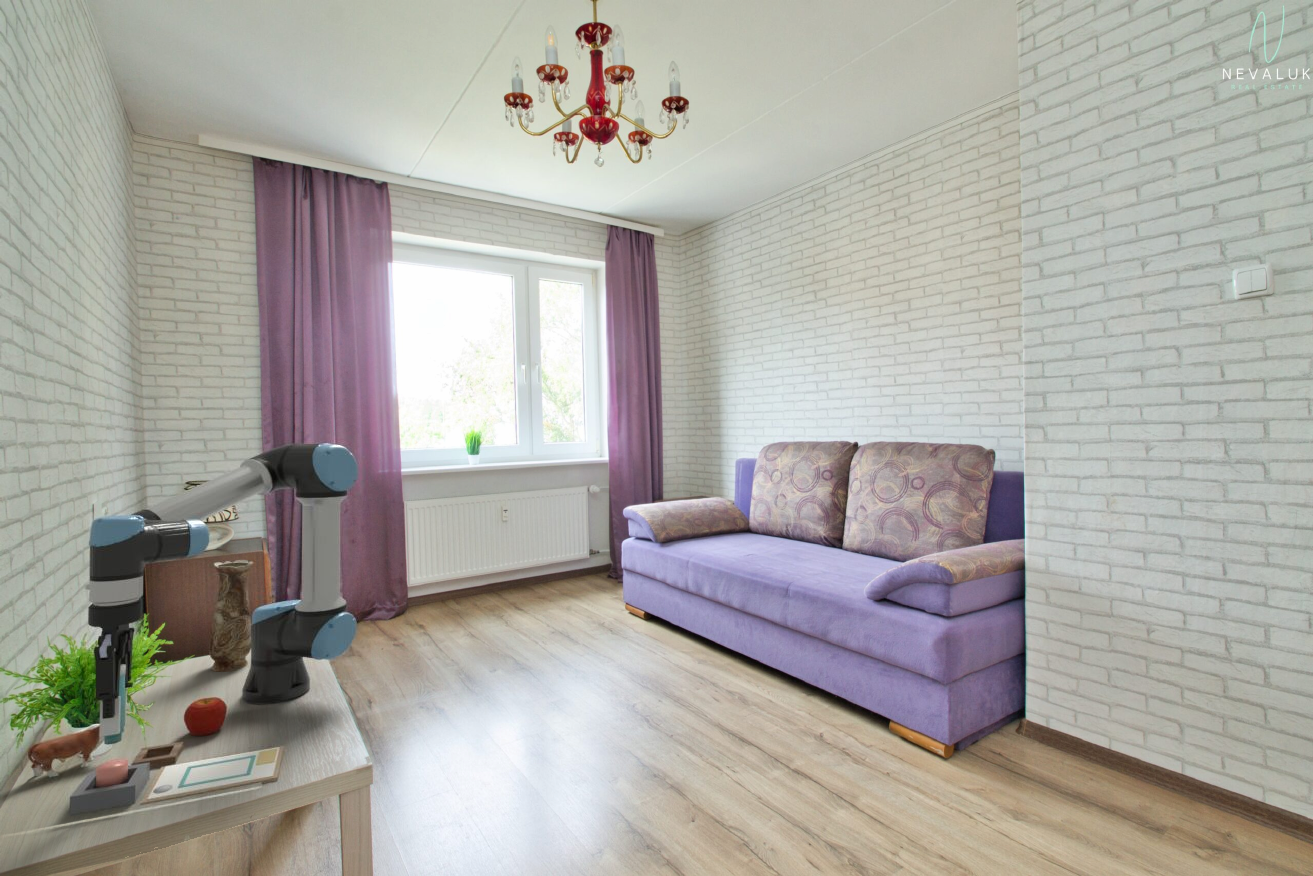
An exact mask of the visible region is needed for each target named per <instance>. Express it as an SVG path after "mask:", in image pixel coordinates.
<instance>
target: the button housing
mask: <svg viewBox="0 0 1313 876" xmlns="http://www.w3.org/2000/svg"><path fill="white" fill-rule="evenodd" d="M150 770H151V768H150V762H149V763H143V764H137V765H131V764H130V765H128V778H127V780H126V781H124V782H122V783H120V784H118V785H113V786H108V787H102V788H98V787H96V770H95V771H91V772H88V773H87V775H86V776H85V777H84V779H82V781H81V782H80V783H79V785H78V786H77V787H76V788H75V790H74V791H73V793H72V794H71V795H70V796H69V816H73V815H78V814H84V813H87V812H88V813H90V812H94V811H100V810H103V809H104V810H105V809H111V808H115V807H121V806H126V805H131V804H136V802H137V801H138V799H139V798H140V796H141V793H142V792H143V790H144V789H145V787H146V786H147V783H148V782H149V780H150V779H151V778H150V777H151V775H150V773H151V772H150Z"/></svg>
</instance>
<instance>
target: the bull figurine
mask: <svg viewBox="0 0 1313 876" xmlns="http://www.w3.org/2000/svg"><path fill="white" fill-rule="evenodd" d="M99 733H100V723H93V724H91V725H89V726H88V727H86V728H83V729H80V730H78V731H76V732H72V733H70V734H66V735H63V736H59V737H56V738H50V739H47V740H43V741H39V742H36V743H34V744H33V745H32V746H30V747H29V749H28V751H27V757H28V760H29V761H30V762H31V763H32V765H31V769H32V771H33V777H40V776H42V775H43V774H44V772H46V773H47V775H48V777H49V778H52V777H57V776H59V774H60V773H58V772H56V771H54V769H53V766H52V765H53V761H54V760H58V761H60V762H61V763H65V762H66V760H67V759H70V758H72V757H74V756H77V755H82V762H81V765H80V768H87V767H88V766H89V764H88V762H92V761H93V760H94V758H93V756H92V753H93V752H94V751H96V750H97V749H98V748H99V747H100V746H101V745H102V744H103V743H104V737H103V736H100V737H99Z"/></svg>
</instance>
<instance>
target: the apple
mask: <svg viewBox="0 0 1313 876" xmlns="http://www.w3.org/2000/svg"><path fill="white" fill-rule="evenodd" d="M227 708H228V706H227V704H226V703H225V701H224V700H223V699H222V698H220V697H216V696H215V697H205V698H204V697H203V698H199V699H197V700H194V701H193V702H192V703H190V705H189V706H188V707H187V708H186V709H185V712H184V714H183V721H184V724H185V726H186V729H187V731H188V732H189V733H190V734H191V735H193V736H196V737H197V736H198V737H199V736H200V737H201V736H208V735H211V734H215V733H216V732H218V731H219V730H221V728H222V726H223V725H224V722H225V720H226V717H227V716H226V715H227Z"/></svg>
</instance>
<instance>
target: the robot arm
mask: <svg viewBox="0 0 1313 876" xmlns="http://www.w3.org/2000/svg"><path fill="white" fill-rule="evenodd" d="M358 472H359V468H358V463H357V460H356V458H355V456H354V454H353V453H351V451H350V450H349V449H348V448H347V447H345V446H343V445H339V444H334V443H333V444H332V443H288V444H284V445H281V446H278V447H275V448H273V449H269V450H266V451H264V452H261V453H259V454H257V455H255V456H252V457H250V458H248V459H245V460H244V461H242V463H240V466H239V467H237V468H235V469H233V470H231V471H228V472H227V473H224V474H221V475H219V476H217V477H215V478H213V479H210V480H208V481H205V482H203V483H201V484H199V485H196V486H194V487H192V488H190V489H188V490H185V491H182V492H180V493H178V494H175V495H174V496H171V497H168V498H167V499H165V500H162V501H160V502H157V503H156V504H153V505H150V506H148V507H146V508H144V509H142V510H139V511H137V512H134V513H131V514H129V515H128V514H125V515H123V514H122V515H106V516H100V517H98V518H95V519H94V520H93V521H92V523H91V526H90V533H89V541H88V545H89V570H88V571H89V582H88V583H89V584H86V585H85V586H84V587H85V590H88V591H89V592H88V593H89V594H88V601H89V602H90V603H91V604H90V605H89V606H88V609H87V611H88V613H87V615H88V617H87V624H88V625H89V626H90V627H91V628H93V627H94V628H100V629H101V633H100V635H99V636H97V637H98V638H97V646H95V647H94V649H93V654H94V655H93V656H94V660H95V667H94V668H95V671H94V672H95V676H94V677H95V697H94V698H93V702H100V703H99V724H100V733H99V737H100V736H107V735H113V734H119V733H120V709H121V696H119V681H120V666H121V664H125V665H126V674H125V706H124V727H125V726H127V713H128V712H127V710H128V709H127V708H128V707H127V706H128V688H133V685H134V682H133V681H132V662H133V640H134V635H135V634H134V633H135V628H134V627H130V624H133V623H136V622H138V621H140V620H141V619H142V618H143V600H142V599H141V597H142V596H143V595H144V565H147V564H148V565H149V564H152V563H157V562H164V561H171V560H178V559H187V558H189V557H195V556H197V555H201V554H202V553H204V552H205V551H206V550H207V548H208V547H209V543H210V535H211V534H210V530H209V528H208V526H207V524H206V523H205V522H203V521H204V520H207V519H208V518H210V517H213V516H215V515H217V514H219V513H221V512H223V511H225V510H227V509H229V508H232V507H233V506H236V505H237V504H239V503H242V502H243V501H246V500H247V499H250V498H252V497H255V496H256V495H258V496H265V495H267V494H270V493H271V492H274V491H278V490H286V489H288V490H291V489H292V490H293V489H294V490H295V499H296V500H297V501H298V502H300V503H301V505H302V508H301V510H302V519H301V524H302V526H301V527H302V530H301V534H302V535H301V541H302V542H301V545H302V546H301V599H292V600H291V599H290V600H284V601H278V602H273V603H268V604H265V605H261V606H259V607H257V608H256V609H254V610H253V612H252V614H251V649H250V668H249V671H248V673H247V675H246V678H245V682H244V684H243V687H242V689H241V695H242V696H241V699H242V701H244V702H245V703H248V704H256V705H261V704H262V705H264V704H275V703H280V702H281V703H282V702H284V701H288V700H292V699H295V698H298V697H300V696H303V695H304V694H306V693H308V692H309V690H310V688H311V677H310V674H309V672H308V669H307V666H306V664H305V661H304V658H307V659H313V660H317V661H318V660H319V661H321V660H329V661H330V660H334V659H337V658H339V657H340V656H342V655H344V653H346V652H347V650H349V647H350V646H351V645H352V644H353V641H354V639H355V637H356V634H357V628H358V627H357V626H358V623H357V619H356V617H354V615H353V614H351V613H350V612H348V611H347V601H346V599H344V598H343V597H342V596H341V506H342V505H341V503H342V502H343V501H344V500H345V499H346V498H347V497H348V490H349V489H351V488H352V487H353V486H354V485H355V482H356V481H357V478H358V475H359V473H358ZM130 681H132V682H130Z"/></svg>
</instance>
